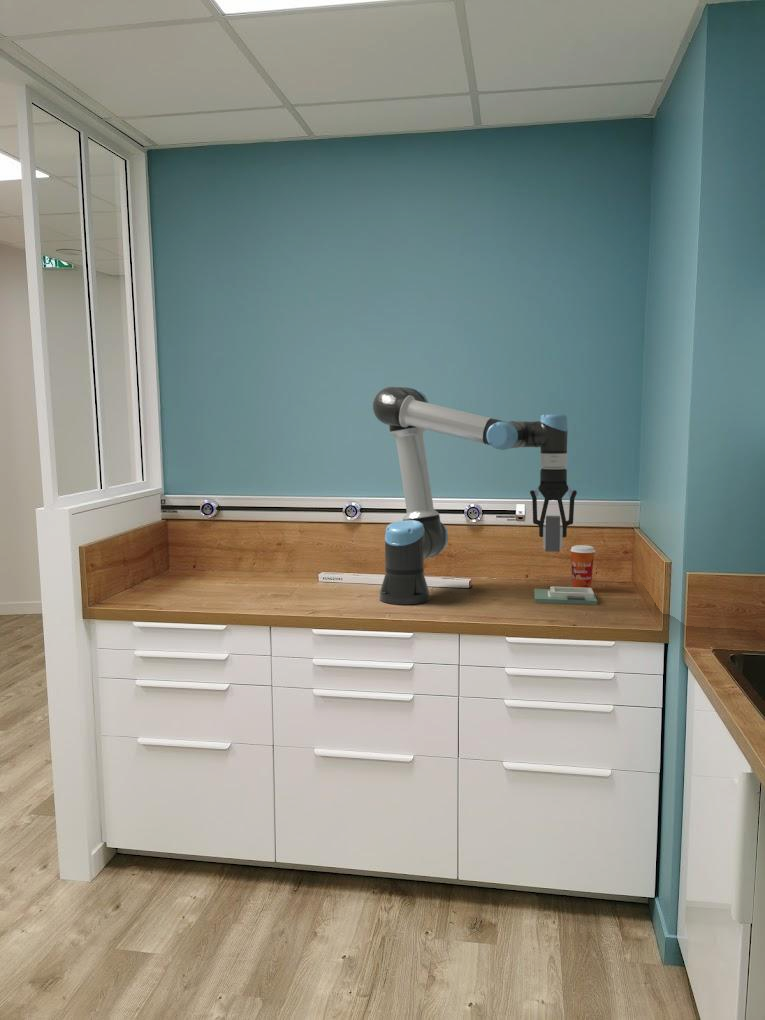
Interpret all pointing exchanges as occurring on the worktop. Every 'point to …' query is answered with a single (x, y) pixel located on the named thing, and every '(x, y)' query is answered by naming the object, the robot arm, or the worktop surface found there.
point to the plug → (552, 533)
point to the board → (565, 595)
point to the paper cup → (582, 565)
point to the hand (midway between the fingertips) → (552, 548)
